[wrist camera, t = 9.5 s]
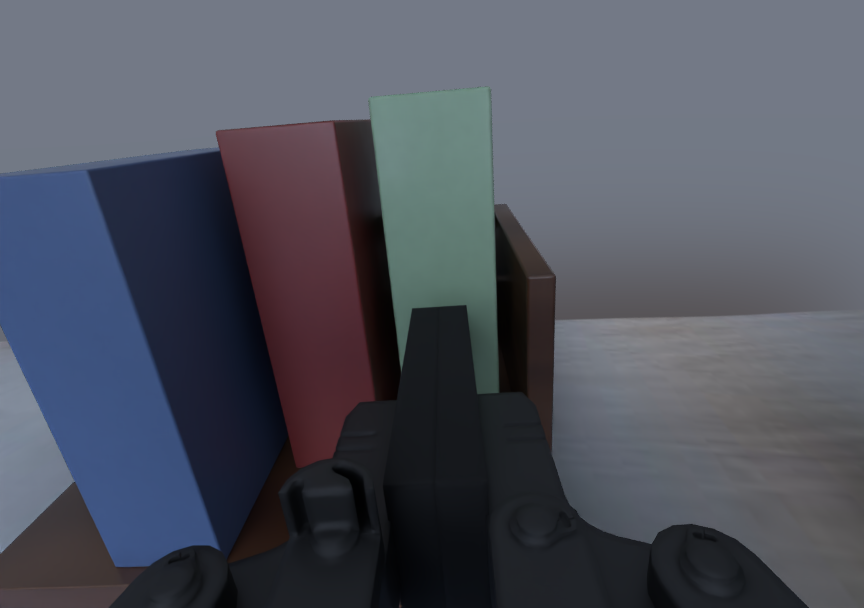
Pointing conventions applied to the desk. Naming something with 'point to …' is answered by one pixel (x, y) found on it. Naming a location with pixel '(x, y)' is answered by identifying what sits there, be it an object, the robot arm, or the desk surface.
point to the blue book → (142, 345)
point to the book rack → (282, 453)
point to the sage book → (440, 211)
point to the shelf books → (316, 270)
